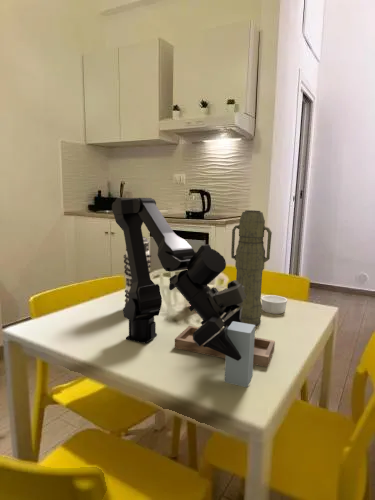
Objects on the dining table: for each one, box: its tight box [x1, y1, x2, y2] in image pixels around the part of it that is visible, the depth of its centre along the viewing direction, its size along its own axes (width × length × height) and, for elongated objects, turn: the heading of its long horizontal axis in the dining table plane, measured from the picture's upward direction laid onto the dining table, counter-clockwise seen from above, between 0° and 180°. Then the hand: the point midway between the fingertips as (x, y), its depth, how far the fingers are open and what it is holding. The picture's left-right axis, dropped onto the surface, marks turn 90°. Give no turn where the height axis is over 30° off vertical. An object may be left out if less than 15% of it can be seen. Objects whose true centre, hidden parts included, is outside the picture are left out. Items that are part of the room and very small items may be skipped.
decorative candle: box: [123, 236, 152, 307], centre depth 117 cm, size 9×9×25 cm
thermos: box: [230, 209, 273, 327], centre depth 107 cm, size 9×12×35 cm
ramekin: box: [261, 294, 288, 315], centre depth 121 cm, size 9×9×4 cm
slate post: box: [223, 321, 256, 388], centre depth 75 cm, size 5×5×12 cm
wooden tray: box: [174, 325, 276, 368], centre depth 90 cm, size 24×10×2 cm, turn 68°
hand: (245, 350), depth 74 cm, fingers open, 9 cm apart
